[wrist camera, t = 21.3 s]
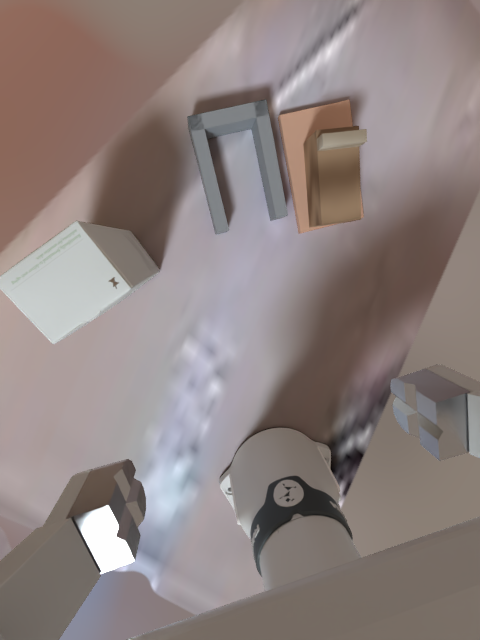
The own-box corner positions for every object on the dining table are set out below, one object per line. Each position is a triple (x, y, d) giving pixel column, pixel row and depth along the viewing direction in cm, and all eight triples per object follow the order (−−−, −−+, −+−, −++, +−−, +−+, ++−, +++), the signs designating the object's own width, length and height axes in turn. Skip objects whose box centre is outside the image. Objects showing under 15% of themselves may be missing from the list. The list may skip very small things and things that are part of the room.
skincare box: (131, 229, 35) (79, 212, 20) (163, 273, 37) (138, 287, 22) (76, 267, 35) (-15, 278, 20) (112, 309, 37) (51, 348, 22)
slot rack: (281, 218, 37) (287, 215, 34) (215, 234, 37) (217, 232, 34) (260, 112, 34) (266, 99, 31) (188, 128, 33) (187, 116, 31)
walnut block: (344, 222, 38) (368, 217, 32) (309, 227, 37) (327, 223, 32) (341, 139, 35) (366, 119, 30) (303, 143, 35) (321, 124, 30)
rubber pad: (360, 217, 39) (363, 217, 38) (298, 233, 38) (300, 233, 37) (346, 102, 35) (349, 99, 34) (277, 118, 35) (279, 115, 34)
